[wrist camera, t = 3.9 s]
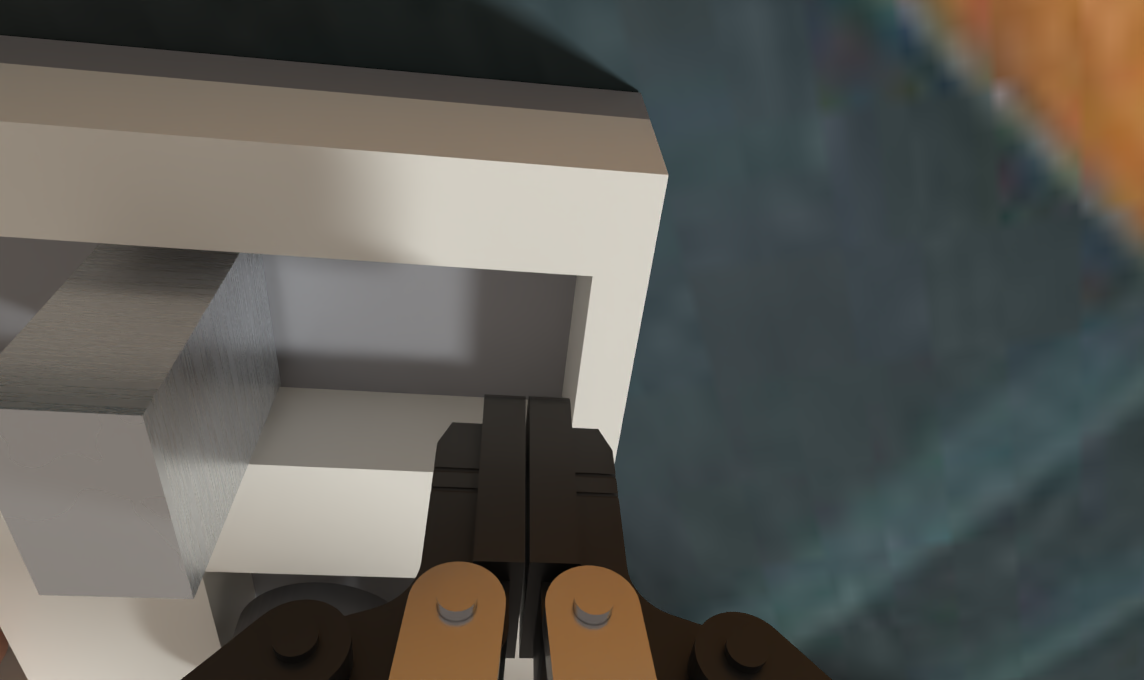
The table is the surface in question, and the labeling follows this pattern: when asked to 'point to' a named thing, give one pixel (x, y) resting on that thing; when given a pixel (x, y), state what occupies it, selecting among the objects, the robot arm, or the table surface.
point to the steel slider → (134, 418)
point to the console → (328, 293)
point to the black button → (333, 594)
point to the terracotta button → (3, 645)
